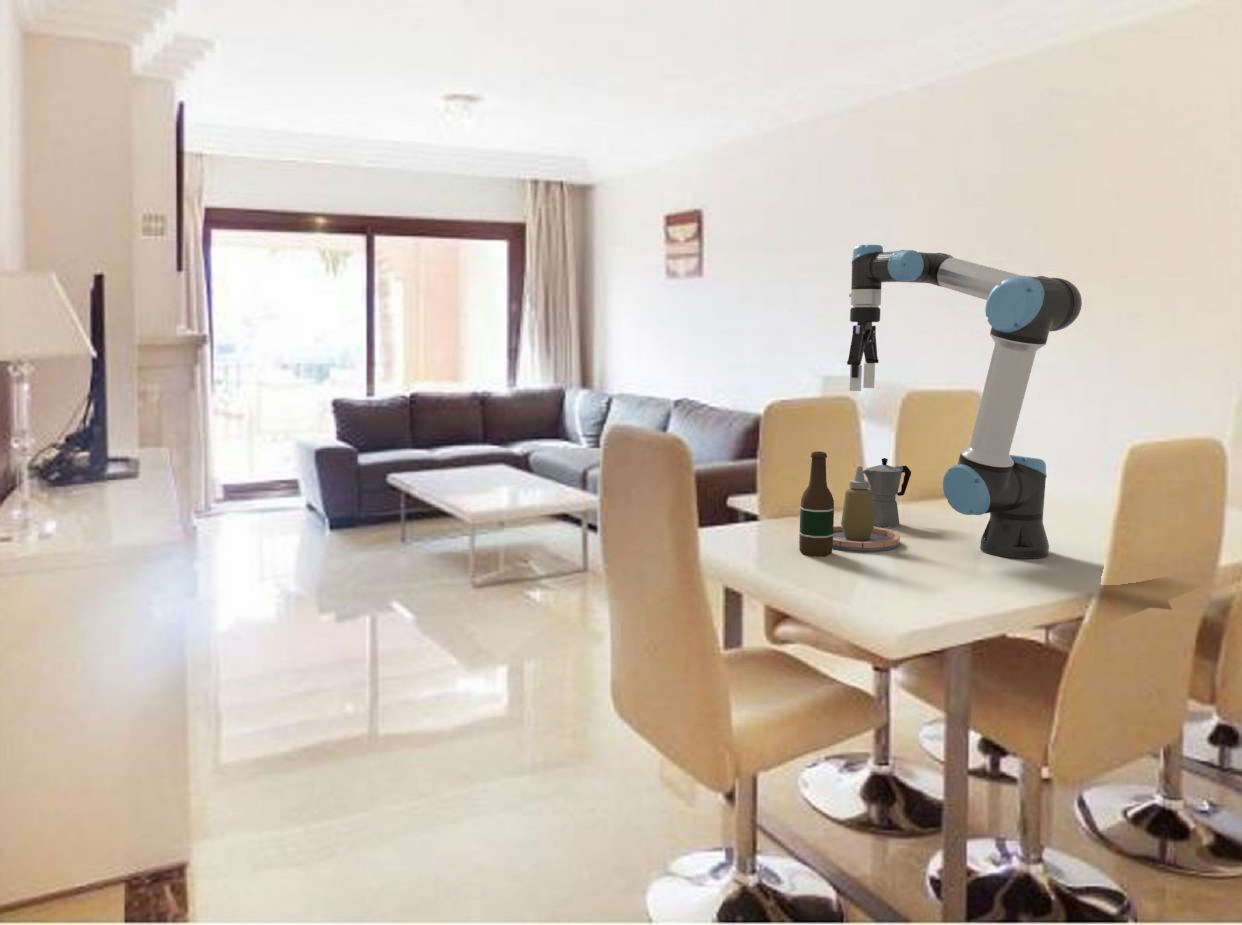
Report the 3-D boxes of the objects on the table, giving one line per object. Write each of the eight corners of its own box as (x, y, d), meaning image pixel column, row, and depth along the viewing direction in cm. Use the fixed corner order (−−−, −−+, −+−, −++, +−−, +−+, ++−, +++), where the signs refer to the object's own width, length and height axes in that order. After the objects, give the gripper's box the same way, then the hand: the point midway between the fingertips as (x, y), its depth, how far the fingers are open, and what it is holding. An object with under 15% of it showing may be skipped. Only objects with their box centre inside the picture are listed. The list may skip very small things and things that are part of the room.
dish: (915, 544, 238) (916, 535, 238) (864, 555, 226) (865, 546, 226) (849, 530, 254) (850, 522, 253) (799, 540, 241) (799, 532, 241)
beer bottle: (812, 558, 223) (816, 455, 220) (792, 551, 230) (795, 451, 227) (839, 554, 227) (843, 453, 223) (818, 548, 234) (821, 449, 230)
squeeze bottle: (876, 536, 242) (879, 465, 239) (870, 543, 234) (873, 469, 232) (844, 533, 245) (846, 463, 242) (837, 540, 238) (839, 467, 235)
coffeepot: (872, 529, 256) (875, 461, 253) (851, 522, 264) (853, 457, 262) (919, 524, 262) (922, 458, 259) (896, 518, 270) (899, 454, 268)
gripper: (863, 307, 261) (860, 386, 264) (837, 305, 240) (834, 391, 243) (891, 307, 258) (887, 387, 261) (867, 305, 236) (864, 392, 239)
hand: (862, 389), depth 252 cm, fingers open, 13 cm apart
